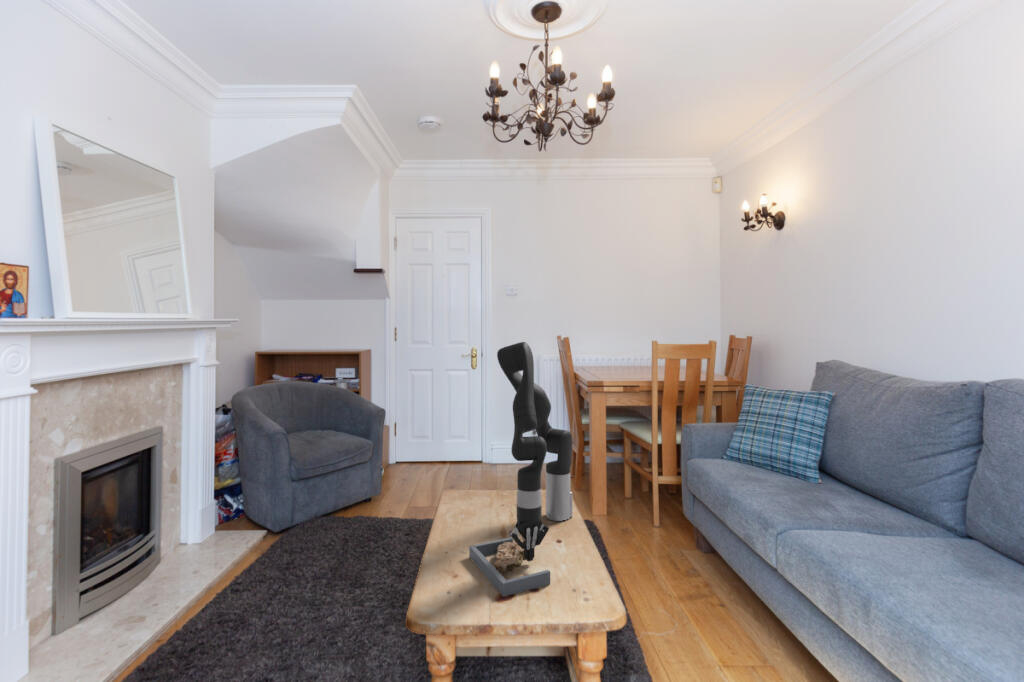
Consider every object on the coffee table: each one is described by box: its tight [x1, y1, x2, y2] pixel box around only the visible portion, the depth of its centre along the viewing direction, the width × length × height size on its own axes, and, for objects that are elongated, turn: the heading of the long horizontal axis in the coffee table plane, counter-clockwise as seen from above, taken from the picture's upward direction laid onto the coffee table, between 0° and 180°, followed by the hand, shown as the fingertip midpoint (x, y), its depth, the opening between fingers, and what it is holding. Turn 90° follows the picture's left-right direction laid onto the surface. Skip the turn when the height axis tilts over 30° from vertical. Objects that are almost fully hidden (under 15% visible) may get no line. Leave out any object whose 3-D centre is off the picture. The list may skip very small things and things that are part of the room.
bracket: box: [468, 537, 551, 597], centre depth 141 cm, size 14×25×4 cm, turn 26°
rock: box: [494, 542, 526, 575], centre depth 145 cm, size 17×5×10 cm
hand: (529, 559), depth 145 cm, fingers closed
